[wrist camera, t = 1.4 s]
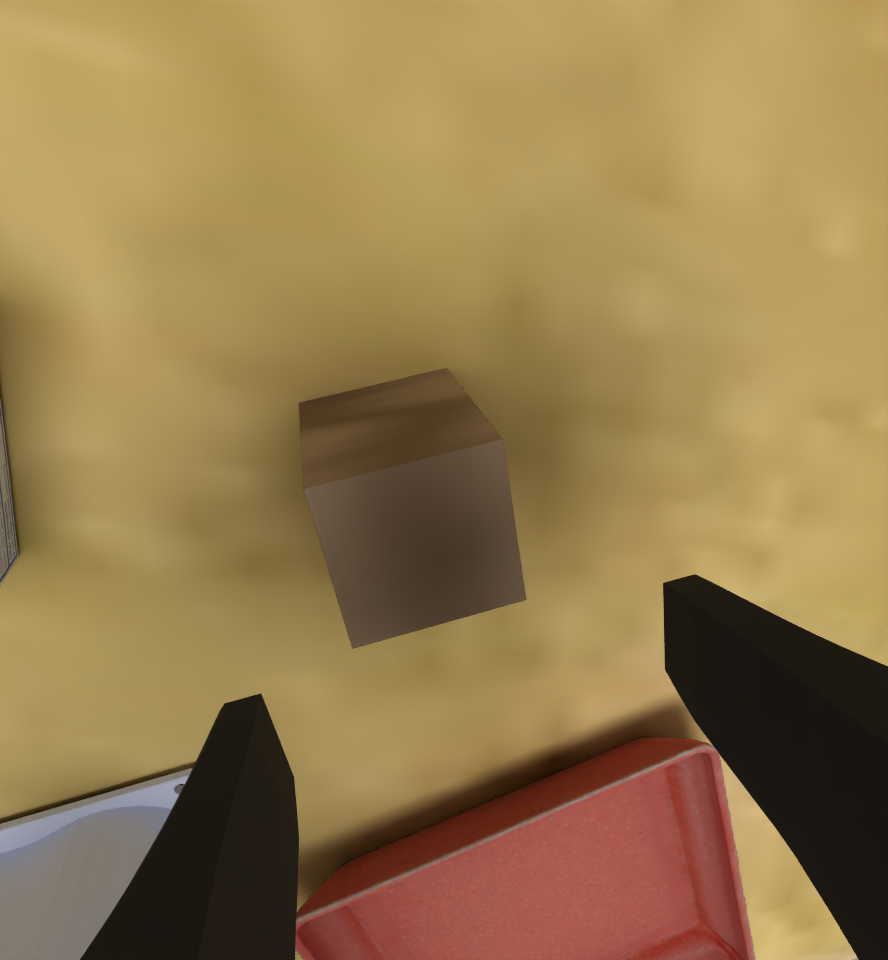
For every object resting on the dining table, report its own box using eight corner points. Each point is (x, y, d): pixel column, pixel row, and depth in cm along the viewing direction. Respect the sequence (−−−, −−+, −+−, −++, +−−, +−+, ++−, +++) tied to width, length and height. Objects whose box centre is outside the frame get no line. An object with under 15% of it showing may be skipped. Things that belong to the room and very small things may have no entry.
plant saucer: (676, 684, 29) (721, 744, 26) (724, 912, 37) (761, 976, 34) (277, 849, 28) (276, 931, 25) (417, 1044, 36) (429, 1122, 33)
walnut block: (336, 531, 22) (352, 648, 16) (299, 402, 20) (303, 489, 14) (468, 496, 22) (526, 600, 17) (445, 367, 20) (502, 439, 15)
